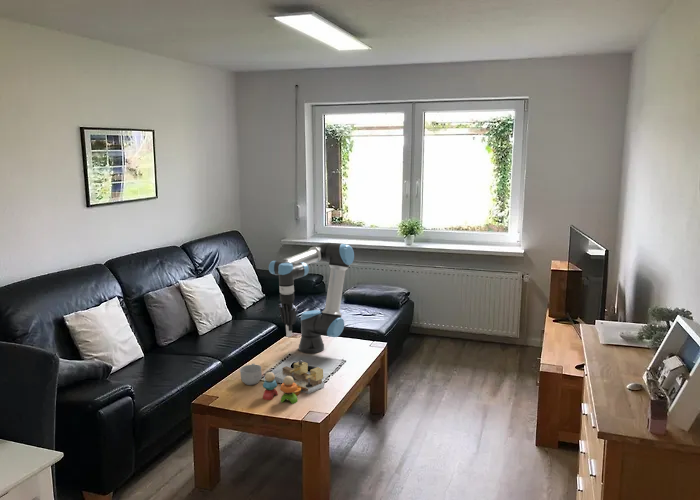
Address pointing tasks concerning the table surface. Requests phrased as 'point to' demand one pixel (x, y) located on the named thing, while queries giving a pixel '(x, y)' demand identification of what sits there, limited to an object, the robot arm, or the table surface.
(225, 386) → the table surface
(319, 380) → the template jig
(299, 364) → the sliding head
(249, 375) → the teacup
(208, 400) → the table surface
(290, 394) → the stacking toy figures
